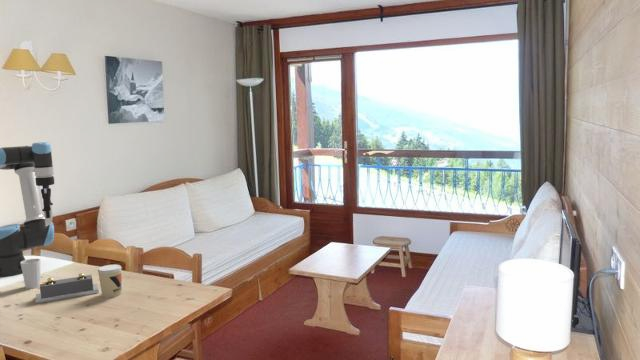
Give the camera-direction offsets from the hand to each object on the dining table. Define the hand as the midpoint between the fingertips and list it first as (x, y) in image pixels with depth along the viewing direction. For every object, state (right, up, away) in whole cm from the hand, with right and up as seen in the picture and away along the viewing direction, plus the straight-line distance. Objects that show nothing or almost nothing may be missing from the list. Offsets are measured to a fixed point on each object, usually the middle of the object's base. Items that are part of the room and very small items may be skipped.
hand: (49, 222), depth 234 cm
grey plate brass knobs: (+16, -30, -15) cm, 37 cm away
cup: (-6, -29, -2) cm, 30 cm away
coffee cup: (+35, -30, -16) cm, 49 cm away
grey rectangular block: (+16, -29, -15) cm, 36 cm away
